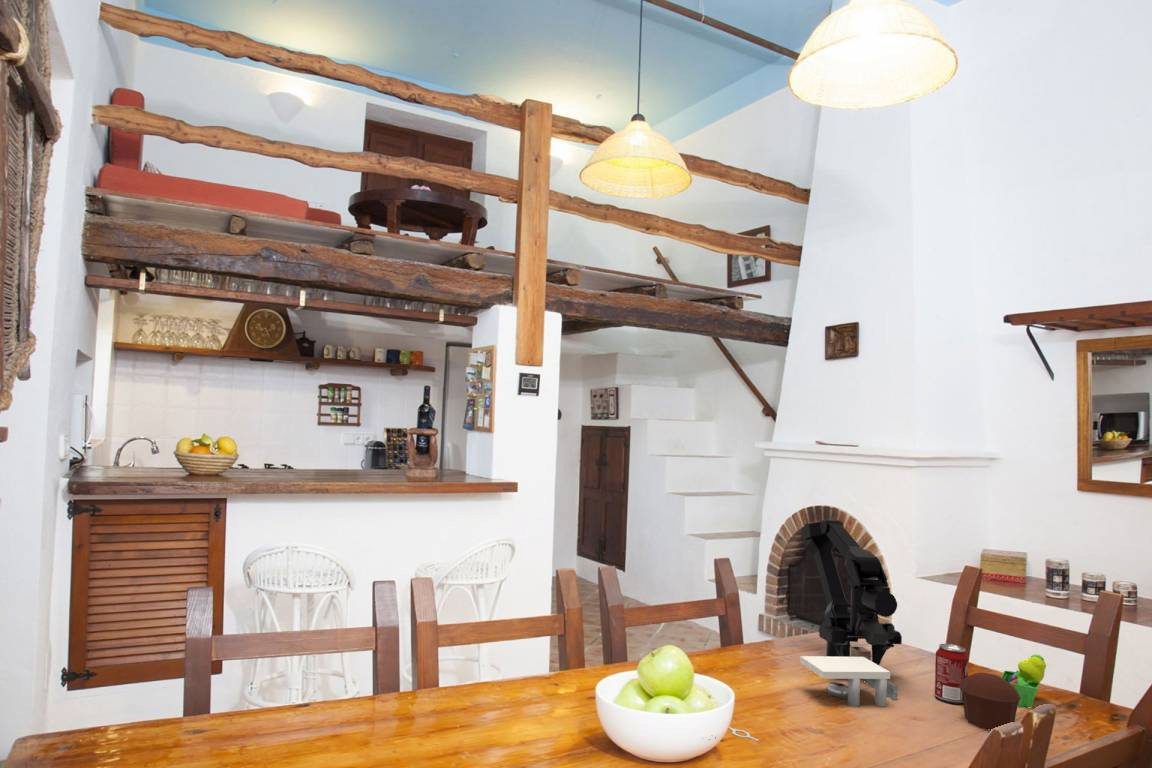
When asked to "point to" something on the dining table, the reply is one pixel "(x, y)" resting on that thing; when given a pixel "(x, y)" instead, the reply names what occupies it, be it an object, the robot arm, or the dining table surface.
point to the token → (837, 690)
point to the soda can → (950, 672)
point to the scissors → (742, 732)
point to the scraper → (890, 687)
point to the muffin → (989, 700)
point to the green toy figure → (1027, 678)
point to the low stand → (850, 674)
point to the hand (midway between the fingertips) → (860, 670)
